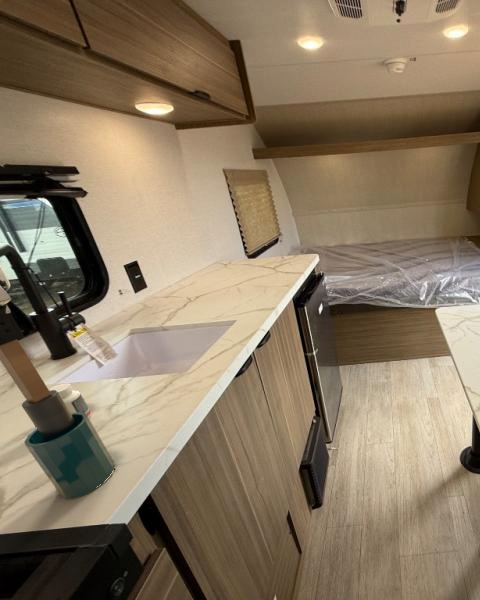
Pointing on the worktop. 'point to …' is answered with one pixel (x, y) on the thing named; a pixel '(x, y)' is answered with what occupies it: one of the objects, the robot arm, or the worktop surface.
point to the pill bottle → (72, 399)
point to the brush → (35, 392)
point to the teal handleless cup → (72, 457)
